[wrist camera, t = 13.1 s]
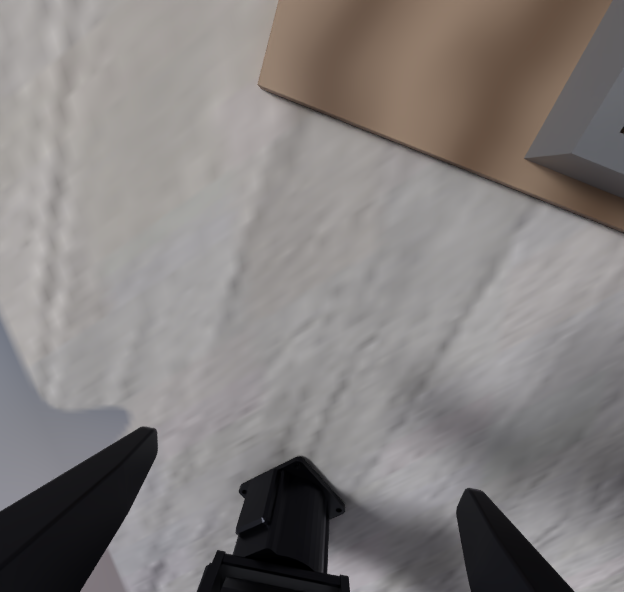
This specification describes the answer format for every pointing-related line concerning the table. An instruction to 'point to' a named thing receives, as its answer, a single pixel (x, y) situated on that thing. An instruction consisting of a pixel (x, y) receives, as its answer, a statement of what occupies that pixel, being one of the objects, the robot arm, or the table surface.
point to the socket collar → (590, 113)
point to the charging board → (444, 80)
